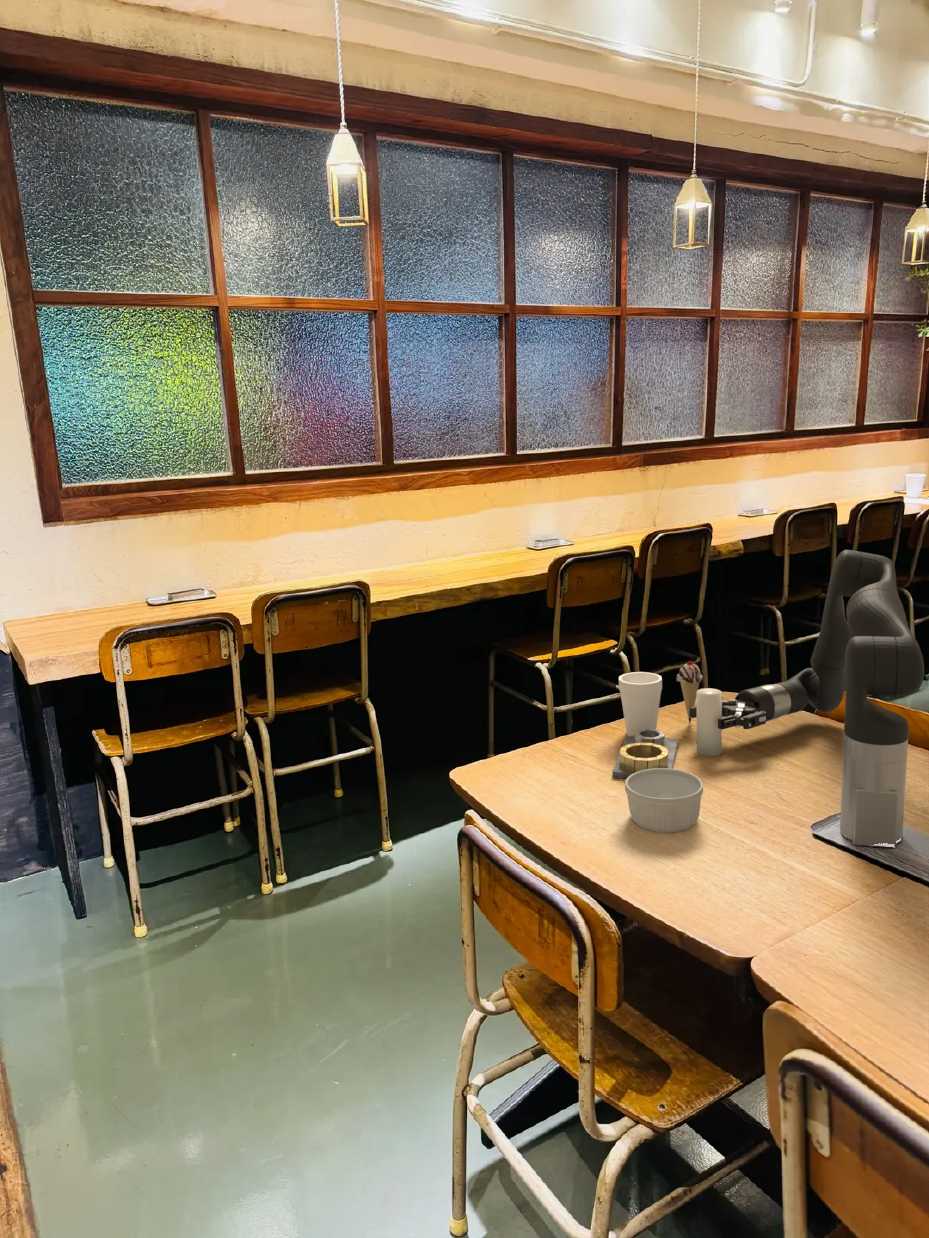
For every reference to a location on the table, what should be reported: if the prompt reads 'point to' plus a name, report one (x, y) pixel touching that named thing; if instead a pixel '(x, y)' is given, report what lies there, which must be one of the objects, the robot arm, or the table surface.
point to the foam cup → (640, 700)
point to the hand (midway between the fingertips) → (704, 718)
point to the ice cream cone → (689, 684)
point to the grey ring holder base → (645, 753)
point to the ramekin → (664, 799)
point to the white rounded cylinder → (709, 722)
